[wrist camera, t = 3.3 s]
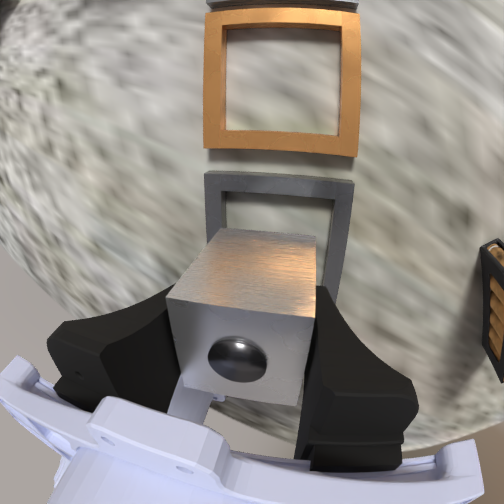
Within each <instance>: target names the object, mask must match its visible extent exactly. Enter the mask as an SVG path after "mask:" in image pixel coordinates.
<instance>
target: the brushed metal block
mask: <svg viewBox="0 0 504 504" xmlns="http://www.w3.org/2000/svg"><path fill="white" fill-rule="evenodd" d="M315 301H316V236H310V235H299V234H289V233H278V232H267V231H255V230H244V229H232V228H220V229H219V231H218V232H217V233H216V234H215V235H214V237H213V238H212V239H211V240H210V242H209V243H208V244H207V245H206V246H205V248H204V249H203V250H202V251H201V253H200V254H199V255H198V256H197V258H196V259H195V260H194V261H193V263H192V264H191V265H190V266H189V268H188V269H187V270H186V271H185V273H184V274H183V275H182V277H181V278H180V279H179V280H178V282H177V283H176V284H175V285H174V287H173V288H172V289H171V291H170V292H169V293H168V295H167V296H166V303H167V308H168V314H169V319H170V324H171V329H172V334H173V339H174V344H175V348H176V353H177V357H178V362H179V366H180V370H181V374H182V378H183V382H184V386H185V387H188V388H193V389H197V390H201V391H206V392H210V393H215V394H220V395H225V396H230V397H235V398H241V399H247V400H253V401H260V402H266V403H274V404H282V405H290V406H297V402H298V398H299V393H300V389H301V385H302V380H303V376H304V371H305V367H306V362H307V357H308V352H309V347H310V342H311V337H312V332H313V326H314V321H315Z"/></svg>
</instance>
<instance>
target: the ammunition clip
mask: <svg viewBox="0 0 504 504" xmlns="http://www.w3.org/2000/svg"><path fill="white" fill-rule="evenodd" d="M480 252H481V263H482V278H483V337H482V345H483V347H484V349H485V351H486V353H487V355H488V357H489V359H490V361H491V363H492V365H493V367H494V369H495V371H496V373H497V376H498V378H499V380H500V382H501V383H503V382H504V243H503V242H502V241H501V240H500V239H499V238H497V239H495V240H493V241H491V242H489V243H487V244H485V245H483V246H481V247H480Z"/></svg>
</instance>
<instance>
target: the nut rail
mask: <svg viewBox="0 0 504 504" xmlns="http://www.w3.org/2000/svg"><path fill="white" fill-rule="evenodd" d="M206 4H208V5H209V6H210V7H211V8H219V7H228V6H239V5H253V4H309V5H324V6H334V7H343V8H351V9H357V6H358V4H359V1H358V0H206ZM244 28H309V29H323V30H334V31H340V43H341V83H340V116H339V136H333V135H323V134H312V133H299V132H282V131H255V130H225V105H226V44H227V30H230V29H244ZM360 102H361V36H360V15H359V14H357V13H350V12H342V11H334V10H323V9H308V8H253V9H238V10H227V11H218V12H210V13H206V15H205V38H204V76H203V143H204V148H239V149H268V150H286V151H301V152H313V153H323V154H333V155H342V156H351V157H357V153H358V140H359V124H360ZM204 185H205V211H206V233H207V244H208V243H209V242H210V240H211V239H212V238H213V237H214V235H215V234H216V233H217V232H218V231H219V229H220V228H226V191H234V192H252V193H267V194H280V195H293V196H304V197H315V198H325V199H333V207H332V216H331V225H330V233H329V241H328V248H327V255H326V262H325V269H324V276H323V282H322V286H326V288H327V289H328V291H329V293H330V296H331V298H332V300H333V301H334V303H335V304H336V299H337V294H338V289H339V284H340V278H341V273H342V268H343V262H344V256H345V250H346V244H347V238H348V231H349V224H350V217H351V210H352V202H353V193H354V185H355V184H354V183H353V181H352V180H344V179H335V178H325V177H315V176H304V175H291V174H277V173H261V172H240V171H208V172H206V173H204Z"/></svg>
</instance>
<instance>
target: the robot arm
mask: <svg viewBox="0 0 504 504" xmlns="http://www.w3.org/2000/svg"><path fill="white" fill-rule="evenodd" d="M175 284H176V283H175ZM175 284H174V285H175ZM174 285H172V286H170V287H168V288H167V289H165V290H163V291H161V292H160V293H158V294H156V295H154V296H152V297H150V298H148V299H146V300H144V301H142V302H140V303H137V304H135V305H133V306H130V307H127V308H125V309H122V310H118V311H115V312H112V313H109V314H105V315H101V316H97V317H92V318H87V319H80V320H72V321H64V322H63V323H62V324H61V325H60V326H59V327H58V328H57V329H56V330H55V331H54V332H53V333H52V335H51V336H50V337H49V338H48V339H47V347H48V351H49V353H50V355H51V357H52V359H53V361H54V363H55V364H56V366H57V368H58V370H59V371H60V373H61V375H62V377H61V378H60V379H59V380H58V382H57V383H56V384H55V385H53V384H52V383H50V382H49V381H47V380H45V379H43V378H42V377H40V374H39V373H38V371H37V369H36V368H35V367H34V366H33V364H32V363H30V362H29V361H27V360H26V359H24V358H23V357H21V356H19V355H17V356H16V357H15V358H14V359H13V360H12V361H11V363H9V364H8V366H7V367H6V368H5V369H4V370H3V371H2V372H1V373H0V402H1V403H2V405H3V406H4V407H5V408H6V410H7V411H8V412H9V413H10V414H11V415H12V416H13V418H14V419H15V420H16V421H17V422H19V423H20V424H21V425H22V426H23V427H25V428H26V429H27V430H29V431H30V432H31V433H32V434H33V435H35V436H36V437H37V438H39V439H40V440H41V441H42V442H44V443H45V444H46V445H48V446H49V447H50V448H52V449H53V450H54V451H56V452H57V453H58V454H60V455H61V456H62V458H61V460H60V466H59V468H58V470H57V473H56V475H55V477H54V481H55V484H54V491H53V493H52V495H51V496H50V498H49V500H48V502H47V503H46V504H467V503H469V502H471V501H473V500H474V499H476V498H478V497H480V496H481V495H483V493H484V487H483V480H482V474H481V469H480V463H479V459H478V454H477V449H476V445H475V441H474V439H468V440H464V441H459V442H454V443H450V444H448V445H446V446H444V447H442V448H441V449H440V450H439V451H438V452H437V454H436V455H430V456H424V457H416V458H408V459H402V452H401V444H403V443H404V435H403V432H404V431H405V429H406V428H407V427H408V426H409V424H410V423H411V422H412V421H413V419H414V418H415V416H416V415H417V413H418V409H419V404H418V399H417V395H416V392H415V389H414V386H413V384H412V381H411V380H410V379H409V378H407V377H405V376H404V375H402V374H401V373H399V372H397V371H396V370H394V369H393V368H391V367H390V366H388V365H387V364H386V363H384V362H383V361H382V360H381V359H379V358H378V357H377V356H376V355H375V354H374V353H373V352H371V351H370V350H369V349H368V348H367V347H366V346H365V345H364V344H363V343H362V342H361V341H360V340H359V338H358V337H357V336H356V335H355V334H354V332H353V331H352V330H351V329H350V327H349V326H348V324H347V323H346V321H345V320H344V318H343V317H342V315H341V314H340V312H339V310H338V309H337V307H336V305H335V303H334V301H333V300H332V298H331V296H330V293H329V291H328V289H327V288H326V286H316V301H315V321H314V326H313V332H312V337H311V342H310V347H309V352H308V357H307V362H306V367H305V371H304V394H303V402H302V410H301V417H300V424H299V430H298V437H297V443H296V449H295V455H294V459H286V458H277V457H269V456H262V455H255V454H249V453H244V452H238V451H233V450H230V446H229V444H228V443H227V442H226V440H225V439H224V437H223V436H222V435H221V434H220V433H218V432H216V431H215V430H213V429H211V428H210V427H207V426H205V425H203V422H204V419H205V417H206V414H207V412H208V409H209V406H210V404H211V401H212V400H215V401H220V402H223V401H225V395H220V394H215V393H210V392H206V391H201V390H197V389H193V388H188V387H185V386H184V382H183V378H182V374H181V370H180V366H179V362H178V357H177V353H176V348H175V344H174V339H173V334H172V329H171V324H170V319H169V314H168V308H167V303H166V296H167V295H168V293H169V292H170V291H171V289H172V288H173V287H174Z"/></svg>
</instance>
